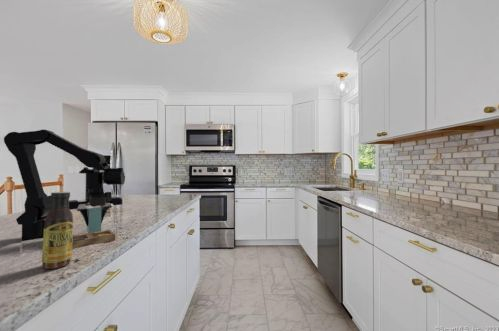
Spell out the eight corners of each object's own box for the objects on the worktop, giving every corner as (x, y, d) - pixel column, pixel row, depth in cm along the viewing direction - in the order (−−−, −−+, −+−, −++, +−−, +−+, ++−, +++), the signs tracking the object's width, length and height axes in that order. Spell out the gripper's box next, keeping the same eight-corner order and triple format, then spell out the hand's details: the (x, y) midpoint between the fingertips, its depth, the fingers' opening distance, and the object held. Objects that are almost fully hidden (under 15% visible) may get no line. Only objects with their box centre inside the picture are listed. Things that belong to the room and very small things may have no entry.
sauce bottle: (46, 272, 58) (47, 194, 58) (37, 267, 62) (38, 192, 62) (77, 263, 64) (77, 191, 64) (67, 258, 67) (68, 190, 67)
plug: (88, 233, 88) (89, 209, 88) (86, 231, 90) (87, 208, 90) (101, 231, 90) (101, 208, 90) (98, 229, 93) (98, 207, 93)
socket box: (65, 250, 73) (66, 241, 73) (62, 244, 79) (63, 236, 79) (115, 241, 83) (115, 233, 83) (109, 236, 89) (109, 228, 89)
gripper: (67, 187, 78) (66, 233, 78) (126, 185, 91) (126, 224, 91) (63, 185, 86) (62, 227, 86) (118, 183, 99) (118, 219, 99)
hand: (93, 224), depth 90 cm, fingers closed on plug, 4 cm apart
